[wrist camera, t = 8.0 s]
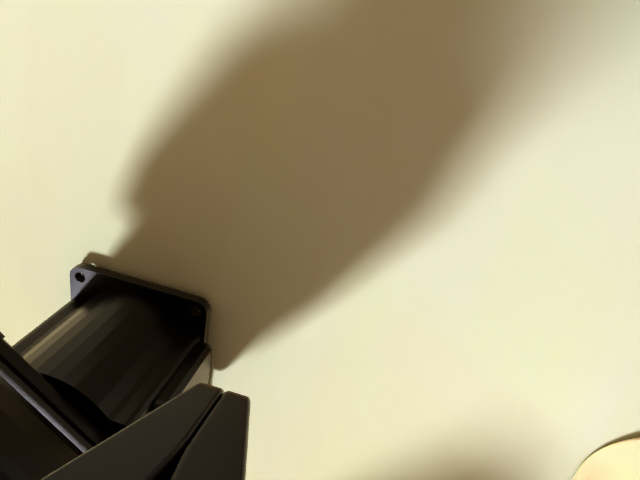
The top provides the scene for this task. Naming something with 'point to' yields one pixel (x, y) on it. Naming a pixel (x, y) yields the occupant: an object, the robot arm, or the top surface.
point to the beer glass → (613, 462)
